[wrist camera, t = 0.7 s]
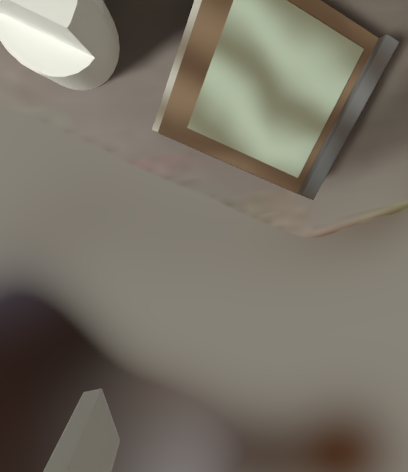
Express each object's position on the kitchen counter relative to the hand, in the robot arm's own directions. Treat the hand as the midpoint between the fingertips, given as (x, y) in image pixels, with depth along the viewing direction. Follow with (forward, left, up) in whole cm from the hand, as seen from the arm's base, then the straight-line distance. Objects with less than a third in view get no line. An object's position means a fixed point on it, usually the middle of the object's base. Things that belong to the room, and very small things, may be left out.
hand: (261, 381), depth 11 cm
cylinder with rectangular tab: (-13, -20, -25) cm, 34 cm away
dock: (-16, 0, -25) cm, 29 cm away
